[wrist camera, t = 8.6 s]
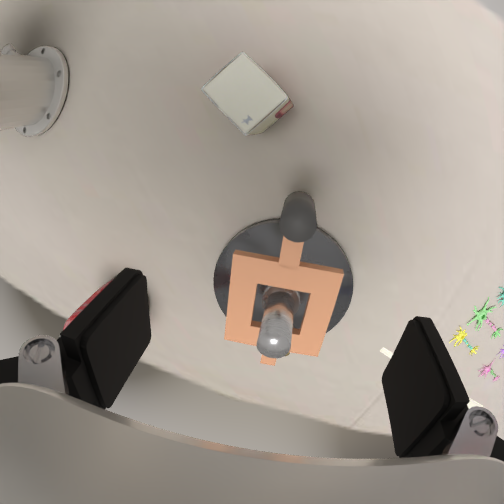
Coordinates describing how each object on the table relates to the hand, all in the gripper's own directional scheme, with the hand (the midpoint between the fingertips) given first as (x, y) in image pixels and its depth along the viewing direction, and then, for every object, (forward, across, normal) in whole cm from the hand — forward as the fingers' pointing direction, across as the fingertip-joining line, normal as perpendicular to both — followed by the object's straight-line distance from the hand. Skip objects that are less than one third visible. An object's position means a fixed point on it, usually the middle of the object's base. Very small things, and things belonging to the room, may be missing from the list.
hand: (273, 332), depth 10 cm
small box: (+22, +4, -8) cm, 23 cm away
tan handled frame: (+19, -1, +8) cm, 21 cm away
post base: (+21, -1, +10) cm, 23 cm away
